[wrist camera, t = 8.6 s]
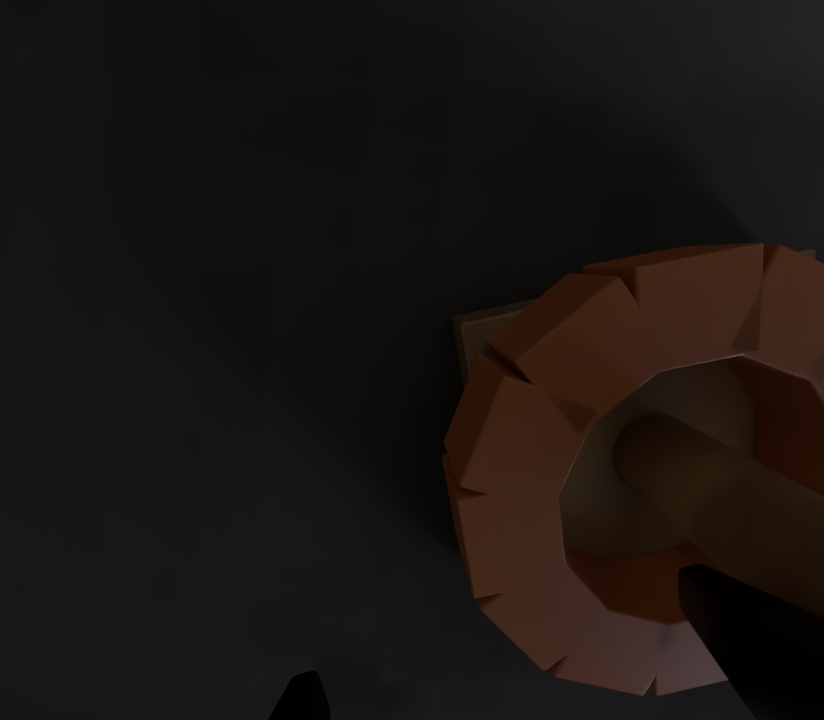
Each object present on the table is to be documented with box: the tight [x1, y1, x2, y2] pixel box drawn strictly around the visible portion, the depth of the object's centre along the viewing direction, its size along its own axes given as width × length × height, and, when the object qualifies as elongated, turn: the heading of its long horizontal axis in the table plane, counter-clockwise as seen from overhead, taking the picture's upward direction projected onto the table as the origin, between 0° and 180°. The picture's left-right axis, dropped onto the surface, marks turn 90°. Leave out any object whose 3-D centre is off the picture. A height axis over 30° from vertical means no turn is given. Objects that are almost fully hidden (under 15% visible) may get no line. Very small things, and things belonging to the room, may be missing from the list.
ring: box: [442, 243, 824, 696], centre depth 11 cm, size 12×12×2 cm
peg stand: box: [452, 248, 824, 618], centre depth 10 cm, size 10×10×8 cm
